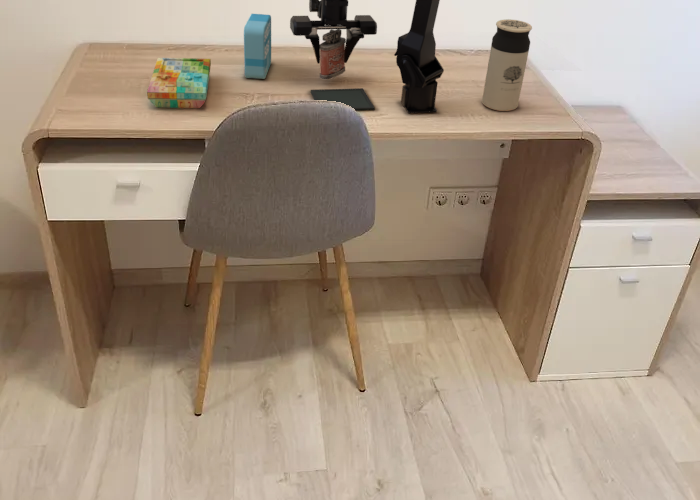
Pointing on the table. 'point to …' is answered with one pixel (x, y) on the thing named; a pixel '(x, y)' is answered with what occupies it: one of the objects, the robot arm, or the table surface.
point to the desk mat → (345, 97)
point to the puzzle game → (179, 82)
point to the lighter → (332, 55)
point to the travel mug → (506, 65)
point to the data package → (257, 46)
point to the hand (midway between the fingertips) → (331, 62)
